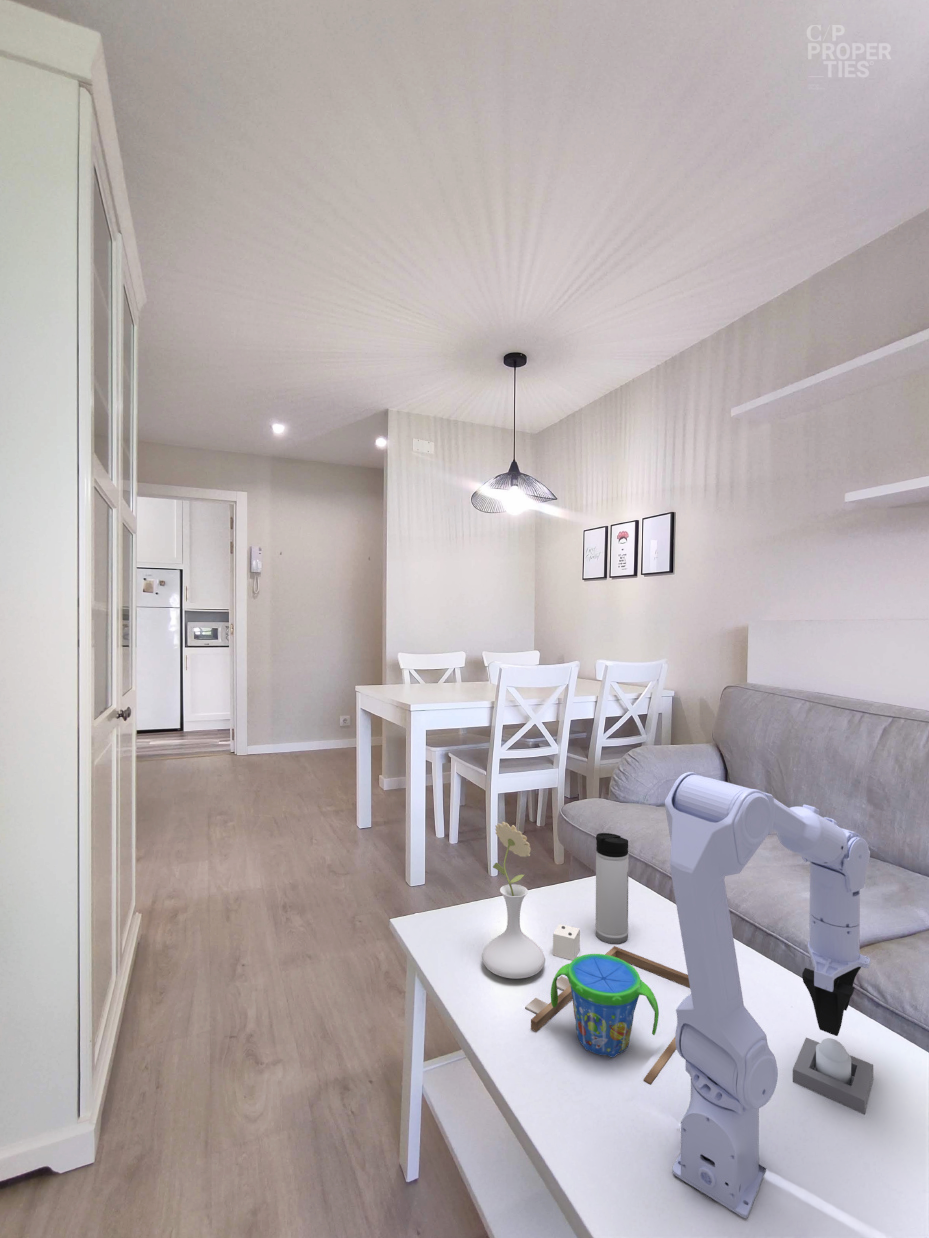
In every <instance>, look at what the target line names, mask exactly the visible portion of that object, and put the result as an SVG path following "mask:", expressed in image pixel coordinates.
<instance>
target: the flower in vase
mask: <svg viewBox="0 0 929 1238" xmlns="http://www.w3.org/2000/svg"><path fill="white" fill-rule="evenodd" d="M494 829H495V834H496V836H497V837H498V839H499V841H500V842H501V843H502V845H503V846H504V847H506V851H505V856H504V859H503V860H504V861H503V866H502V865H501V864H499V863H498V862H495V863H494V864H493V866H492V868H493V869H495V870H497V871H498V872H499V873H501V875H502V876H505V877H506V880H507V882H508V884H505V885H502V886H501V887H500V888H499V893H500V894H501V895H502V896H503V898H504V901H505V905H506V913H507V915H506V916H507V919H506V920H507V921H506V928H505V930H504V931H503V932H502V933H501V934H499V935H497V936H496V937H495V938H492V939H491V941H489V942H488V943H487V944H486V945H485V946H484V948H483V951H482V953H481V960H482V962H483V965H484V966H485V967H486V969H487V970H488V971H490V972H492V973H493V974H494V975H497V976H499V977H502V978H507V979H517V980H518V979H527V978H530V977H532V976H535V975H537V974H539V973H540V972H541V970H542V969H543V967H545V964H546V957H545V953H544V951H543V949H542V948H541V946H539V945H538V943H536V941H534V940H533V939H531V938H530V937H529V936H527V934H525V933H524V932H523V931H522V929H521V921H520V920H521V908H522V904H523V901H524V899H525V897H526V896H527V894H528V892H529V890H528V888H527V887H525V886H523V885H521V884H516V883H517V882H519V881H521V880H522V879H523V878H524V876H525V874H518V875H516V876H514V877H513V878H512V879H511V880H510V878H509V876H508V872H507V869H506V863H507V862H506V861H507V857H508V853H509V851H510V852H512V853H513V854H514V855H517V856H518V857H521V858H527V857H531V851H532V848H531V844H530V843H529V842H528V841H527V840H528V837H527V836H526V835H524V834H523V832H522V831H520V830H518V829H517V827H516V826H515V825H511V826H510V824H508V822H505V821H501V823H497V824H495V828H494Z"/></svg>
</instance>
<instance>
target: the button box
mask: <svg viewBox="0 0 929 1238" xmlns="http://www.w3.org/2000/svg"><path fill="white" fill-rule="evenodd" d="M819 1043H820V1042H819V1041H816V1040H813V1039H812V1038H808V1037H806V1036H805V1039H804V1041H803V1043H802V1046H801V1049H800V1050H799V1053H798V1056H797V1058H796V1061H795V1063H794V1065H793V1067H792V1083H795V1084H796V1085H799V1086H801V1087H803V1088H805V1089H807V1090H810V1091H812V1092H814V1093H816V1094H819V1095H821V1096H823V1097H825V1098H827V1099H829V1100H831V1101H833V1102H836V1103H839V1104H840V1105H843V1106H844V1107H847V1108H849V1109H851V1110H853V1111H856V1112H857V1113H860V1114H862V1115H864V1116H865V1114H866V1111H867V1108H868V1107H867V1106H868V1102H869V1097H870V1095H871V1090H872V1085H873V1082H874V1081H873V1080H874V1064H873V1063H870V1062H869V1061H868V1062H867V1061H865V1060H863V1059H860V1058H858V1057H856V1056H853V1055H851V1054H849V1055H850V1056H851V1077H853V1080H852V1082H851V1086H849V1085H847V1084H845V1083H842V1082H840V1081H838V1080H836V1079H833V1078H831V1077H829V1076H826V1075H824V1074H822V1073H819V1072H817V1071H816V1069H814V1068H815V1067H816V1046H817V1044H819Z"/></svg>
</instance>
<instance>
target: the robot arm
mask: <svg viewBox="0 0 929 1238" xmlns="http://www.w3.org/2000/svg"><path fill="white" fill-rule="evenodd" d="M664 808H665V809H664V810H665V814H666V820H667V826H668V832H669V838H670V857H669V858H670V859H669V868H670V869H669V870H670V874H671V881H672V882H671V883H672V888H673V893H674V899H675V905H676V911H677V917H678V922H679V928H680V929H679V930H680V934H681V935H680V936H681V941H682V942H681V943H682V948H683V951H684V960H685V965H686V971H687V975H688V978H689V984H690V988H689V989H690V994H689V995H687V996H685V998H684V999H682V1001H681V1002H680V1003H679V1005H678V1006H677V1007H676V1009H675V1013H676V1019H677V1020H676V1021H677V1023H676V1029H675V1036H674V1037H675V1043H676V1052H677V1053H678V1055H679V1056H680V1057H681V1058H682V1059H683V1060H684V1061H685V1072H686V1073H688V1075H689V1077H690V1101H689V1104H688V1107H687V1109H686V1112H685V1114H684V1115H683V1118H682V1120H681V1123H680V1124H681V1126H680V1152H679V1155H678V1156H677V1159H676V1161H675V1162H674V1164H673V1166H672V1169H671V1170H672V1171H671V1172H672V1174H673V1175H674V1176H675V1177H677V1178H678V1179H680V1180H682V1181H684V1182H685V1183H687V1184H688V1185H689V1186H691V1187H693V1188H695V1189H697V1190H698V1191H699V1192H701V1193H703V1195H706V1196H708V1197H709V1198H711V1199H712V1200H714V1201H715V1202H717V1203H718V1204H721V1205H723V1206H724V1207H725V1208H727V1209H729V1210H730V1211H731V1212H733V1213H735V1214H737V1215H739V1216H740V1217H742V1218H743V1219H745V1218H748V1217H749V1215H750V1212H751V1210H752V1206H753V1205H754V1201H755V1199H756V1197H757V1194H758V1192H759V1189H760V1187H761V1184H762V1182H763V1180H764V1177H765V1175H766V1171H767V1167H765V1166H763V1165H762V1164H759V1161H760V1159H759V1157H760V1154H759V1153H760V1151H759V1149H760V1145H759V1144H760V1143H759V1142H760V1137H759V1136H760V1108H762V1107H764V1106H766V1105H767V1104H768V1103H769V1102H770V1100H771V1098H772V1097H773V1095H774V1093H775V1091H776V1087H777V1083H778V1080H779V1079H778V1077H779V1068H778V1064H777V1060H776V1057H775V1053H773V1052H772V1050H771V1048H770V1047H769V1044H768V1038H767V1033H766V1032H765V1031H764V1029H763V1028H762V1027H761V1026H760V1024H759V1023H758V1022H757V1020H756V1019H754V1016H752V1014H751V1013H750V1012H749V1010H748V1009H747V1008H746V1006H745V1004H744V998H743V991H742V986H741V978H740V972H739V966H738V959H737V953H736V946H735V940H734V932H733V928H732V921H731V915H730V907H729V902H728V896H727V889H726V888H727V887H726V882H725V878H726V877H728V876H734V875H738V874H741V873H742V871H743V870H744V868H745V867H746V866H747V865H748V862H749V861H750V860H751V859H752V857H753V856H754V855H755V854H756V852H757V850H758V849H759V848H760V847H761V846H762V844H763V842H764V841H765V840H766V839H767V837H768V836H770V835H771V834H772V832H774V833H775V834H776V838H777V840H778V841H779V842H780V844H781V845H782V846H783V847H784V848H785V849H787V850H788V851H790V852H792V853H794V854H797V855H799V856H800V857H801V858H802V860H803V862H805V863H807V862H808V863H810V864H809V921H808V922H809V923H808V924H809V928H808V929H809V935H808V937H809V938H808V939H809V940H808V942H807V951H808V954H809V957H810V960H811V962H812V965H813V968H814V970H813V969H810V968H807V967H805V968H804V969H803V971H802V975H801V978H802V982H803V984H804V986H805V987H806V989H807V992H808V993H809V996H810V998H811V1000H812V1004H813V1008H814V1013H815V1018H816V1021H817V1024H818V1028H819V1031H823V1032H825V1033H827V1034H830V1035H833V1036H836V1037H838V1036H839V1033H840V1030H841V1028H842V1025H843V1017H844V1011H847V1009H848V1008H849V1004H850V1003H851V1002H850V1001H851V998H852V996H853V994H854V991H855V987H854V986H853V985H854V983H855V979H856V977H857V974H858V973H859V972H860V970H861V968H863V969H869V968H870V966H871V958H870V957H869V956H866V955H863V954H861V953H860V952H861V951H860V945H861V944H860V939H861V937H860V936H861V935H860V932H861V930H860V927H861V925H860V923H861V919H860V918H861V910H860V909H861V890H863V889H864V887H865V884H866V872H867V869H868V867H869V865H870V859H871V851H870V848H869V843H868V842H867V841H866V839H864V838H863V837H862V835H861V834H860V833H858V832H856V831H852V830H850V829H845V828H842V827H840V826H838V822H837V820H835V819H833V818H830V817H827V816H824V817H823V816H821V815H820V809H818V808H817V807H816V806H812V805H808V804H803V805H802V806H796V805H795V806H791V807H788V806H786V805H785V804H783V803H782V802H780V801H779V800H777V799H776V798H775V797H774V796H773V794H771V793H767V792H765V791H761V790H760V789H755V788H749V787H745V786H742V785H738V784H734V783H731V782H727V781H723V780H719V779H715V778H712V777H706V776H703V775H701V774H699V773H696V772H693V771H689V772H685V773H683V774H681V775H679V777H678V778H677V779H676V780H675V782H674V783H673V785H672V787H671V789H670V790H669V792H668V795H667V796H666V798H665V800H664Z"/></svg>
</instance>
